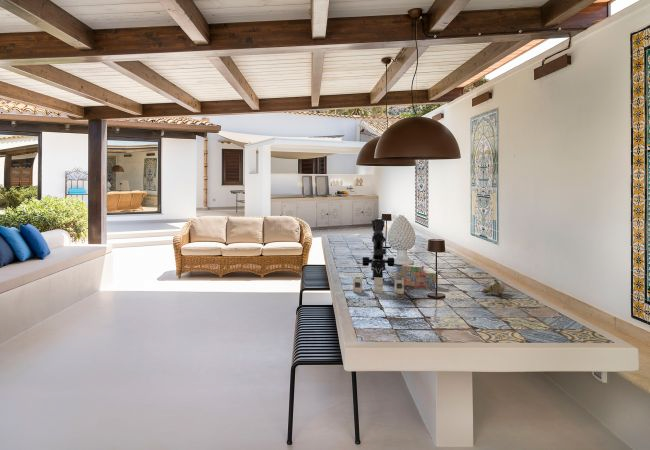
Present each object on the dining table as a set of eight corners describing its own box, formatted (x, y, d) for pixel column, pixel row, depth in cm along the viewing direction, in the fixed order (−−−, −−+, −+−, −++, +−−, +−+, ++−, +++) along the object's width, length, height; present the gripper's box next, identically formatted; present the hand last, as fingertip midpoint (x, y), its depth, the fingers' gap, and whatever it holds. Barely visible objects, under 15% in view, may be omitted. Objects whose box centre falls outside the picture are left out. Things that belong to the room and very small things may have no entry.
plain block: (373, 291, 284) (374, 277, 283) (382, 291, 284) (382, 277, 283) (373, 293, 279) (374, 279, 279) (382, 293, 279) (382, 279, 278)
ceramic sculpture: (509, 278, 278) (498, 284, 267) (509, 293, 279) (498, 299, 268) (491, 276, 285) (480, 281, 274) (491, 290, 286) (480, 296, 275)
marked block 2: (394, 291, 283) (394, 277, 282) (403, 291, 283) (403, 277, 282) (394, 293, 278) (395, 279, 277) (403, 293, 277) (403, 279, 277)
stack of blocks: (437, 286, 297) (438, 266, 295) (435, 288, 291) (435, 268, 290) (404, 283, 307) (404, 263, 305) (401, 284, 301) (401, 265, 300)
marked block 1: (353, 290, 285) (353, 276, 285) (361, 290, 285) (362, 277, 284) (353, 292, 280) (353, 278, 279) (361, 292, 280) (361, 278, 279)
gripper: (362, 243, 285) (362, 265, 275) (394, 243, 283) (395, 265, 273) (362, 254, 294) (362, 276, 284) (393, 255, 292) (394, 276, 282)
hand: (378, 273), depth 280 cm, fingers closed
